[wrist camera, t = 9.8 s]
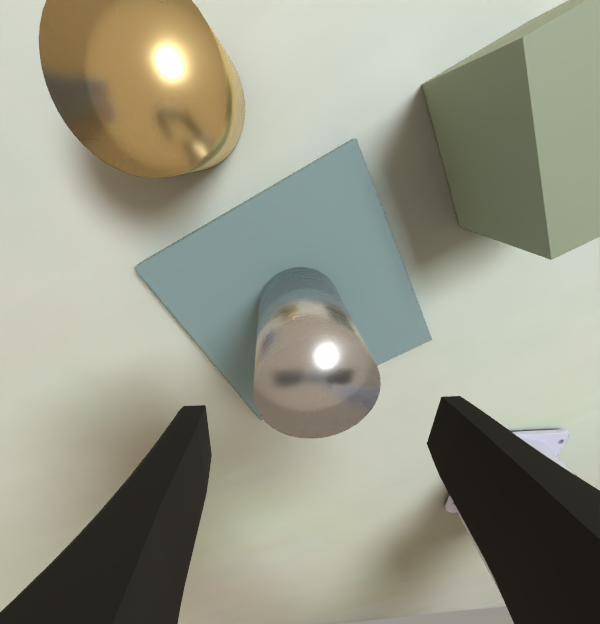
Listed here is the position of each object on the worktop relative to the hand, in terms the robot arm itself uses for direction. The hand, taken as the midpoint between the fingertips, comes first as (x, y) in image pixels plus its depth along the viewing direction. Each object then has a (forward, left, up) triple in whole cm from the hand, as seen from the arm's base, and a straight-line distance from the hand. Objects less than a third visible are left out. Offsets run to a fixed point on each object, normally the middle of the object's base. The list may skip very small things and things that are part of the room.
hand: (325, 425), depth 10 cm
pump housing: (+9, -9, -9) cm, 16 cm away
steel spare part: (0, 0, -8) cm, 8 cm away
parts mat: (0, 0, -9) cm, 9 cm away
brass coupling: (+9, +5, -9) cm, 14 cm away
